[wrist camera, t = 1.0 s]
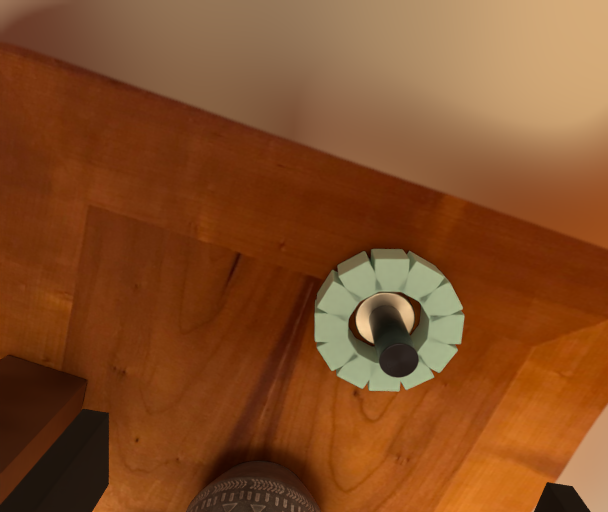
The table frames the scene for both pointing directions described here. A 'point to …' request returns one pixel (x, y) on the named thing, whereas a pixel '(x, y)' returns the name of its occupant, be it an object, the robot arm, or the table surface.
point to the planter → (255, 491)
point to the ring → (387, 278)
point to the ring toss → (389, 331)
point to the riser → (32, 415)
